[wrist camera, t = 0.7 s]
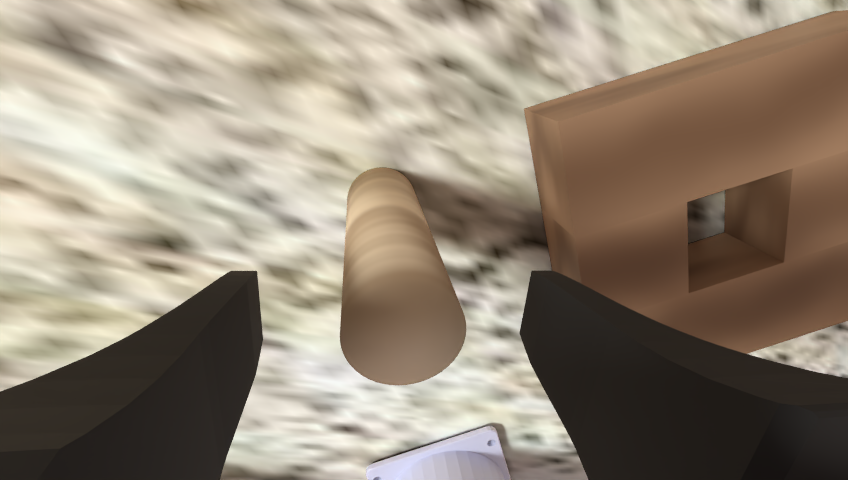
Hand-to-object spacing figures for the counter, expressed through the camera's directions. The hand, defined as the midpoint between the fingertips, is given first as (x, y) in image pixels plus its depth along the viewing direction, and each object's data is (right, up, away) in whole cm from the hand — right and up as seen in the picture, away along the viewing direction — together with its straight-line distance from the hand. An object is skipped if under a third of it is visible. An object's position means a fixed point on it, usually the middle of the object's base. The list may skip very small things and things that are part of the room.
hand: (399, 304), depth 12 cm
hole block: (+13, +3, +10) cm, 17 cm away
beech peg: (-1, +3, +8) cm, 9 cm away
